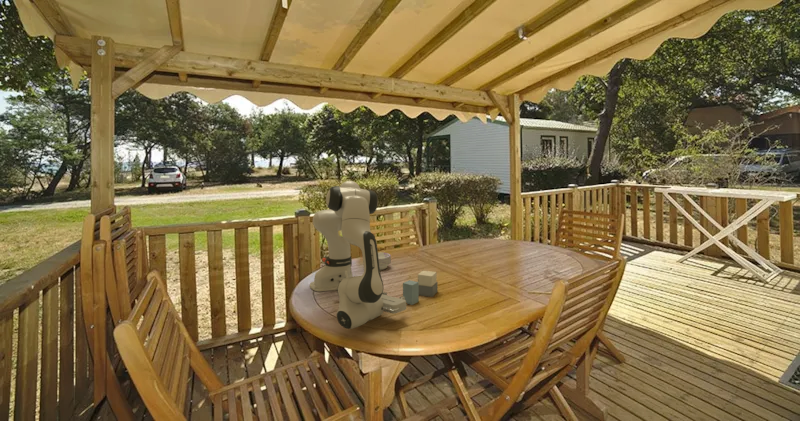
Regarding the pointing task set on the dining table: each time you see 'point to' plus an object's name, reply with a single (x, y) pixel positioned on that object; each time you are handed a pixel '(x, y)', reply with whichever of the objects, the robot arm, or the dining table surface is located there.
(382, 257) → the paper bowls
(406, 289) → the blue pillar
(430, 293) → the tower base
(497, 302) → the dining table surface
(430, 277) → the tower top
